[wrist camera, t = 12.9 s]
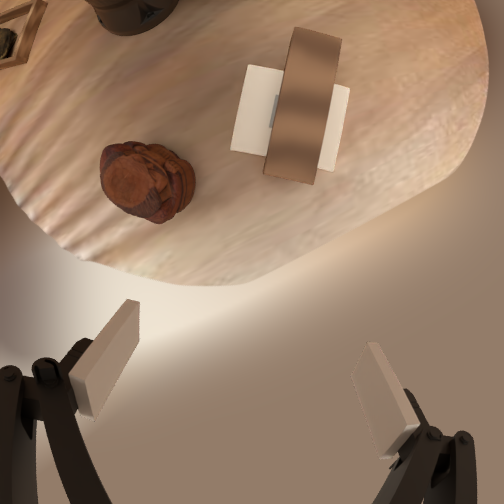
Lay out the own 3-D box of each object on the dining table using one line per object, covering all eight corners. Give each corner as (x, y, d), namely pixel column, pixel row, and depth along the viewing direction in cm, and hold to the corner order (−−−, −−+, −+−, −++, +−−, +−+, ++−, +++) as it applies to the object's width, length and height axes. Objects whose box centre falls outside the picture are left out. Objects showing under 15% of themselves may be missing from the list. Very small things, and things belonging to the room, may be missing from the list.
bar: (290, 41, 30) (294, 26, 25) (332, 52, 30) (342, 39, 26) (262, 171, 36) (263, 174, 31) (306, 181, 36) (313, 185, 31)
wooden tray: (-7, 24, 31) (-17, 21, 27) (47, 3, 32) (37, -2, 28) (-24, 77, 36) (-34, 75, 32) (26, 62, 37) (15, 59, 33)
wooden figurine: (210, 178, 45) (181, 191, 28) (186, 209, 47) (147, 241, 29) (153, 135, 43) (97, 127, 26) (131, 167, 44) (69, 177, 27)
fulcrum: (248, 66, 39) (246, 46, 31) (348, 89, 40) (367, 76, 31) (230, 149, 43) (223, 148, 35) (331, 171, 44) (348, 175, 36)
